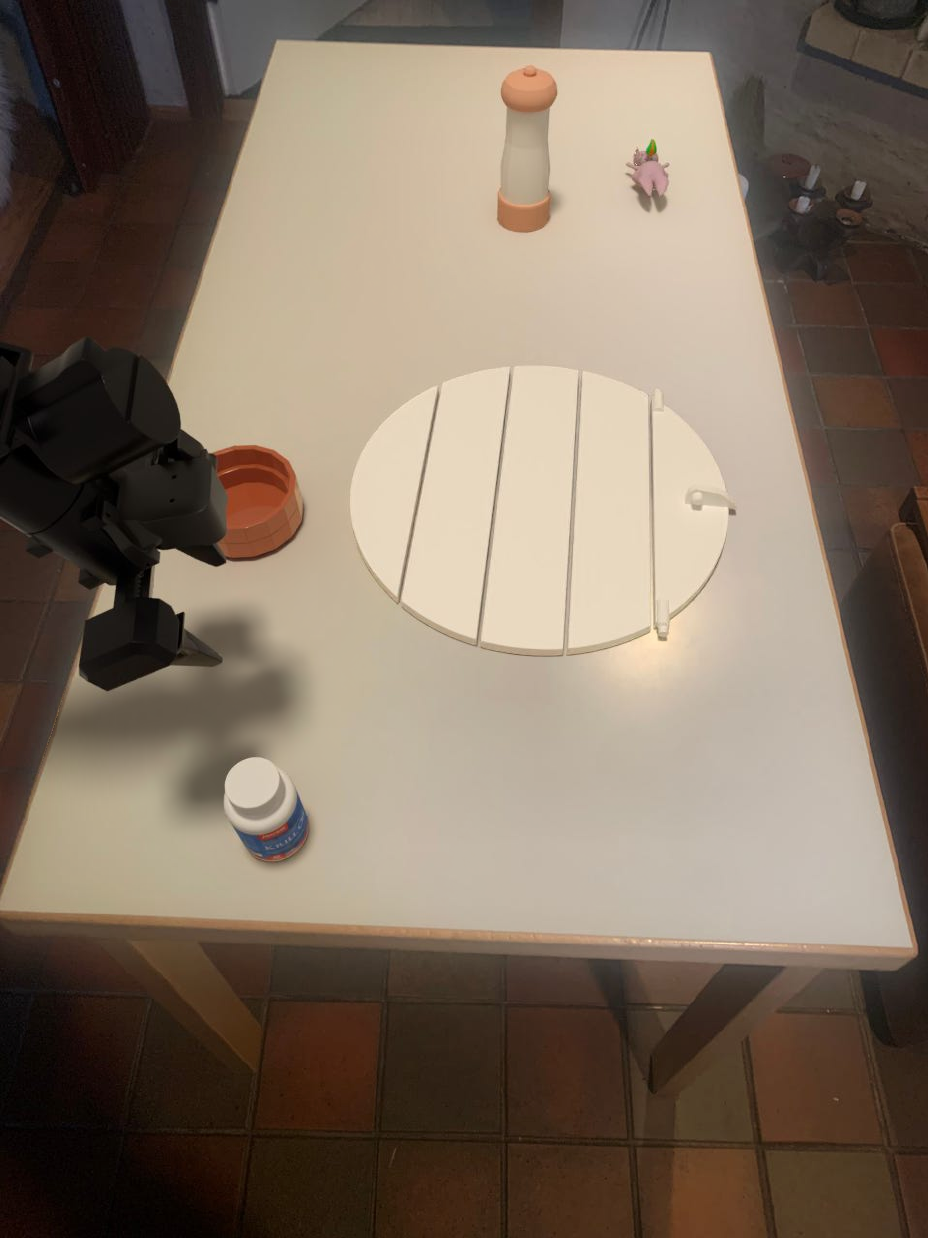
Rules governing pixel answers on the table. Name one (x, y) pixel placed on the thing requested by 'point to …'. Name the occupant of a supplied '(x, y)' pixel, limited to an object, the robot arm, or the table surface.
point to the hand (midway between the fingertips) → (220, 611)
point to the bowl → (257, 500)
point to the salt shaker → (526, 150)
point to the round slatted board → (539, 510)
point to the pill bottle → (265, 809)
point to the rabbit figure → (649, 170)
